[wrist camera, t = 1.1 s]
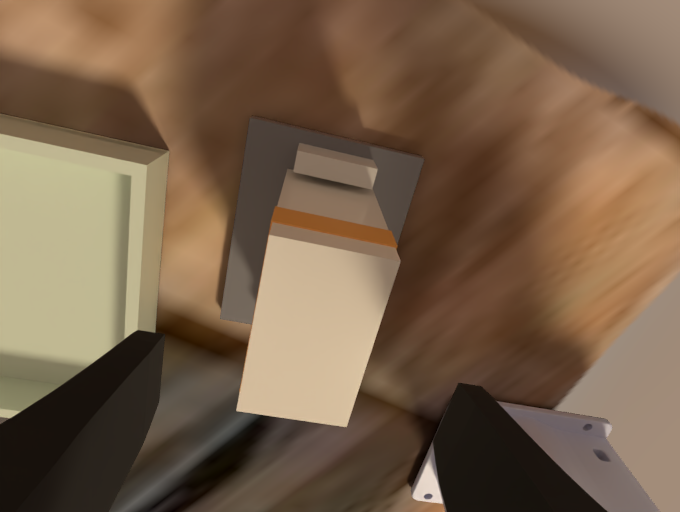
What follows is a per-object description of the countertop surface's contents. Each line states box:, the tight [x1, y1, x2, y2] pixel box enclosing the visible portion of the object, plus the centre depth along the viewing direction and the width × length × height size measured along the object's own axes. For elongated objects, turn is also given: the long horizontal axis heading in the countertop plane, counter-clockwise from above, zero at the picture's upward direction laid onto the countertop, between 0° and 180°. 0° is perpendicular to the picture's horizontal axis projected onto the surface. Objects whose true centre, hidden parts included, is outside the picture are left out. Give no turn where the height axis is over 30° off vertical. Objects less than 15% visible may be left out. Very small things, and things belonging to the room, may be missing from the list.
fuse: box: [236, 169, 401, 427], centre depth 16 cm, size 4×6×7 cm, turn 167°
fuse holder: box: [220, 116, 425, 324], centre depth 18 cm, size 7×9×2 cm
